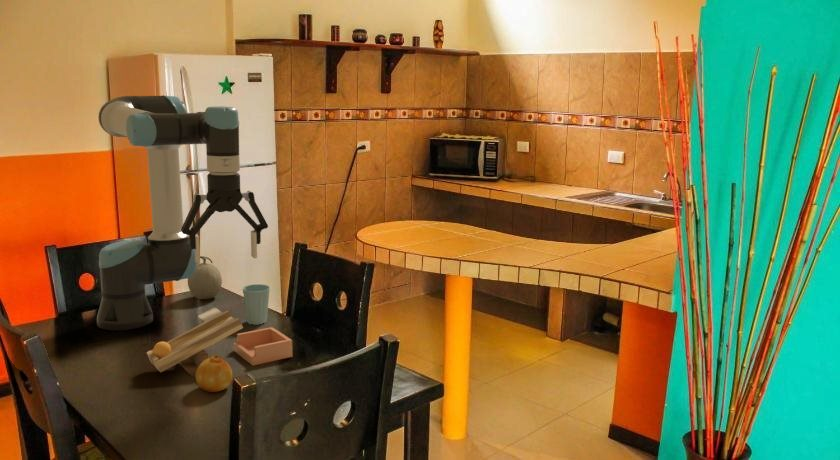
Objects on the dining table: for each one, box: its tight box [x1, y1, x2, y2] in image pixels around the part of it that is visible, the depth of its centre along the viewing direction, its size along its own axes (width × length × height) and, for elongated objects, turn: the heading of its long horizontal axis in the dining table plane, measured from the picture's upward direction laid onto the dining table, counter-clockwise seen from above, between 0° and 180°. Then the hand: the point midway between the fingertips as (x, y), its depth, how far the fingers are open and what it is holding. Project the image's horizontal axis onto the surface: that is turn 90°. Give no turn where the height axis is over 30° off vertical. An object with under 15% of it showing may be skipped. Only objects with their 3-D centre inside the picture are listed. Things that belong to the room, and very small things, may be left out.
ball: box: [153, 341, 171, 358], centre depth 178 cm, size 4×4×4 cm
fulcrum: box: [177, 349, 210, 377], centre depth 184 cm, size 12×7×5 cm, turn 36°
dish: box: [233, 326, 293, 367], centre depth 192 cm, size 12×11×4 cm
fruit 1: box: [187, 255, 223, 300], centre depth 238 cm, size 10×12×15 cm
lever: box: [146, 306, 244, 373], centre depth 186 cm, size 17×22×3 cm
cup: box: [242, 283, 271, 326], centre depth 216 cm, size 8×8×10 cm
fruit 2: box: [194, 354, 233, 393], centre depth 170 cm, size 8×8×8 cm
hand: (226, 259), depth 180 cm, fingers open, 13 cm apart
